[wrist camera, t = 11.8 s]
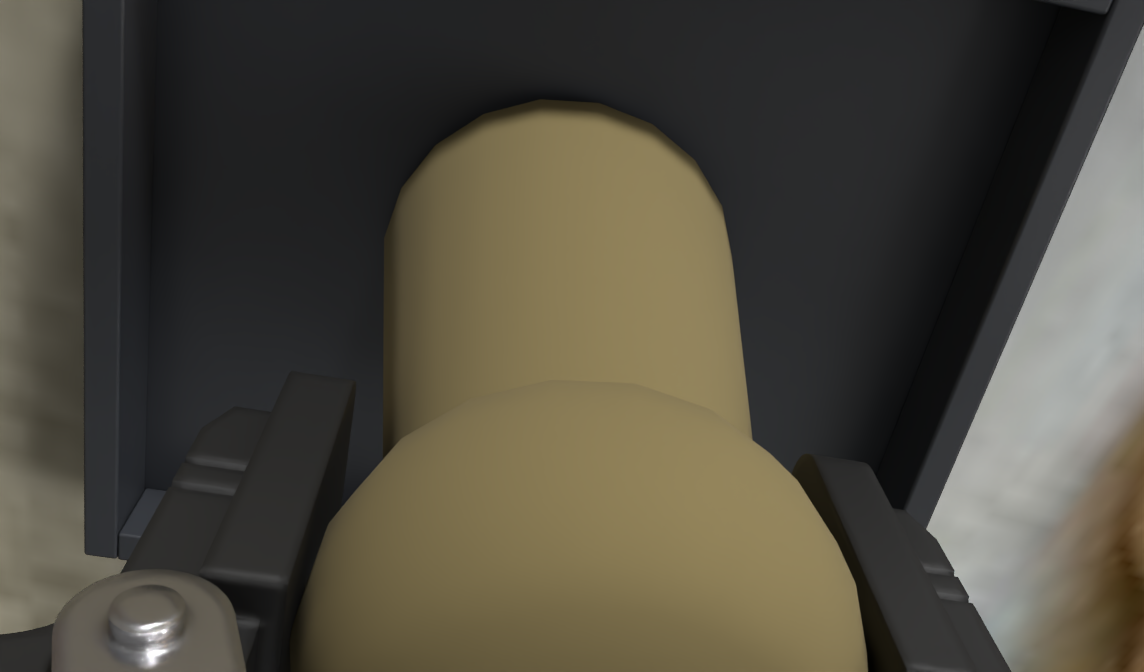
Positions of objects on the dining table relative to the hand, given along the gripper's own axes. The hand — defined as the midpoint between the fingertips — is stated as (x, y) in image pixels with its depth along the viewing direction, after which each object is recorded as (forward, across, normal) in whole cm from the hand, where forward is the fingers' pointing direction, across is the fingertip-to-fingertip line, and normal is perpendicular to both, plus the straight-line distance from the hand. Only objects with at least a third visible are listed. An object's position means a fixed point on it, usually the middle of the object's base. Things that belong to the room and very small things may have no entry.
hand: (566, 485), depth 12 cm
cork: (+7, 0, 0) cm, 7 cm away
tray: (+7, 0, 0) cm, 7 cm away
